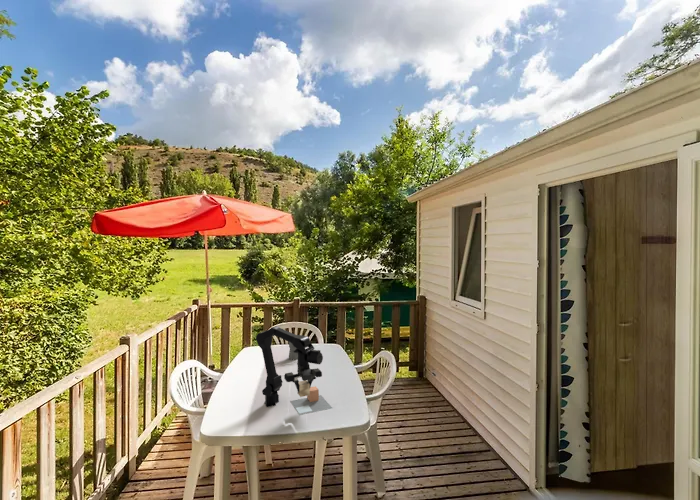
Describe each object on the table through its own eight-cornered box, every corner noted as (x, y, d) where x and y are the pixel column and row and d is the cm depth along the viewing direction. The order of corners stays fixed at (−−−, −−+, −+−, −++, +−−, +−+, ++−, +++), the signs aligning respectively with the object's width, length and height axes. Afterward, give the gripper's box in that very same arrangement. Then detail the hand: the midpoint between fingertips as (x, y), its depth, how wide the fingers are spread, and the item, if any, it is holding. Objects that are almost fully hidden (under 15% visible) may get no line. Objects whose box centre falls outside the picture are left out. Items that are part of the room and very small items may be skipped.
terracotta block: (309, 402, 201) (309, 391, 201) (307, 398, 206) (307, 387, 206) (318, 400, 203) (318, 389, 203) (315, 396, 208) (315, 386, 208)
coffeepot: (283, 359, 278) (283, 335, 278) (289, 355, 287) (289, 332, 287) (301, 361, 273) (301, 336, 272) (307, 357, 282) (307, 333, 281)
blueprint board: (299, 416, 186) (299, 414, 186) (290, 402, 203) (289, 400, 203) (332, 409, 194) (332, 408, 194) (321, 396, 210) (321, 395, 210)
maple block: (300, 396, 189) (300, 385, 189) (297, 393, 194) (297, 381, 193) (309, 395, 191) (309, 383, 191) (306, 391, 196) (306, 380, 195)
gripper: (289, 369, 181) (289, 400, 181) (325, 363, 188) (325, 394, 189) (283, 362, 191) (284, 392, 191) (318, 357, 198) (318, 386, 199)
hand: (303, 391), depth 192 cm, fingers closed on maple block, 5 cm apart
